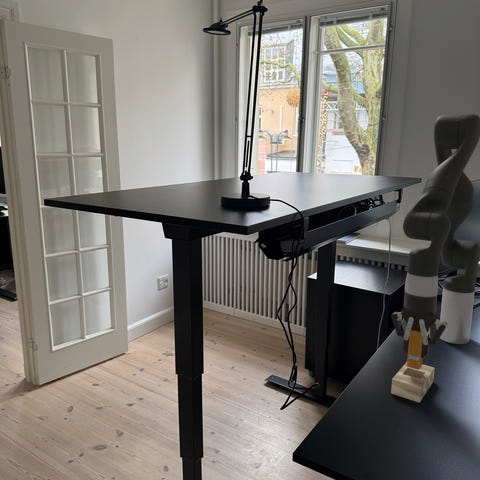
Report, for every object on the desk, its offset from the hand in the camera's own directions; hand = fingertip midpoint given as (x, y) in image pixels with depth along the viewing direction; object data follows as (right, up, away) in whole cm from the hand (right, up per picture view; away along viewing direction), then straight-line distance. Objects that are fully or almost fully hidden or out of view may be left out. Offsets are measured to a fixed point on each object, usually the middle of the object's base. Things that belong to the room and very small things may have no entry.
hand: (415, 354), depth 114 cm
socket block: (0, -9, +2) cm, 9 cm away
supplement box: (0, -3, +1) cm, 3 cm away
